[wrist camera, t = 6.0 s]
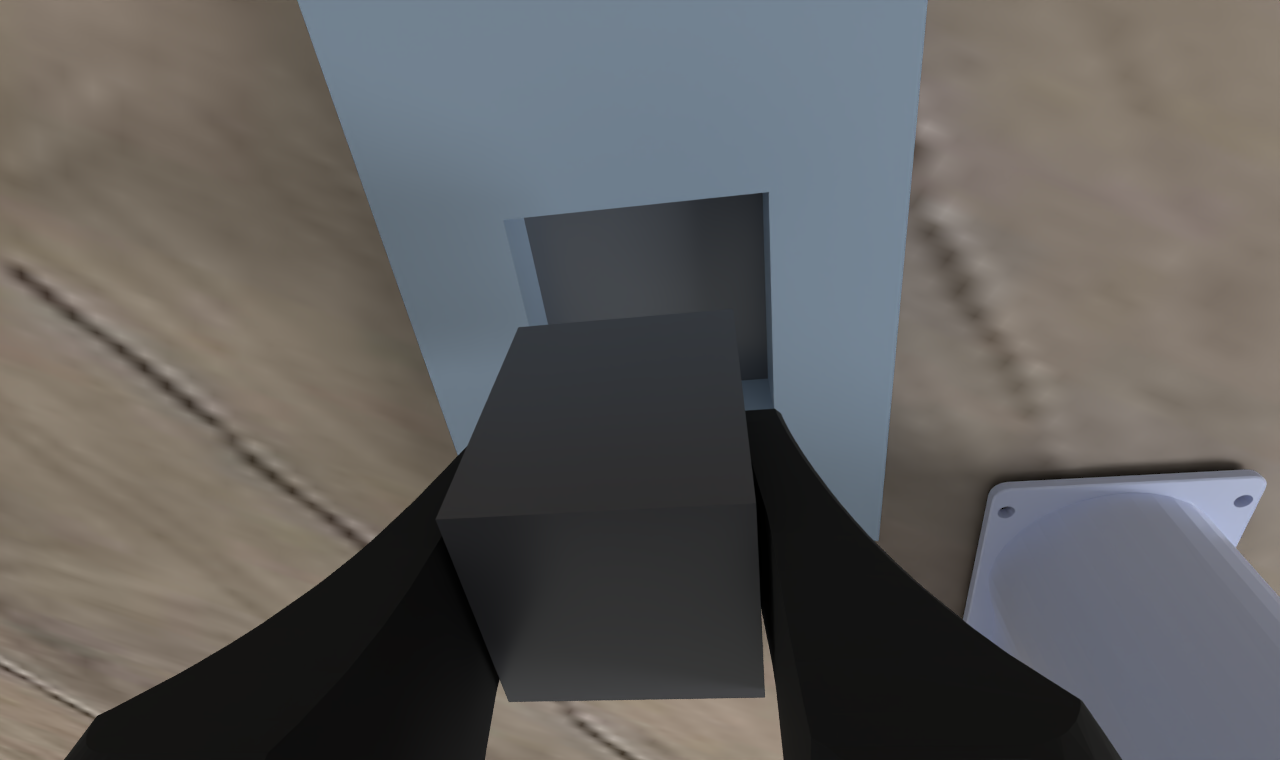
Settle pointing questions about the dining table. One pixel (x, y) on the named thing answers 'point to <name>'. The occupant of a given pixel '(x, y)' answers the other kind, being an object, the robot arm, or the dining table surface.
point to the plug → (613, 514)
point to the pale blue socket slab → (646, 187)
